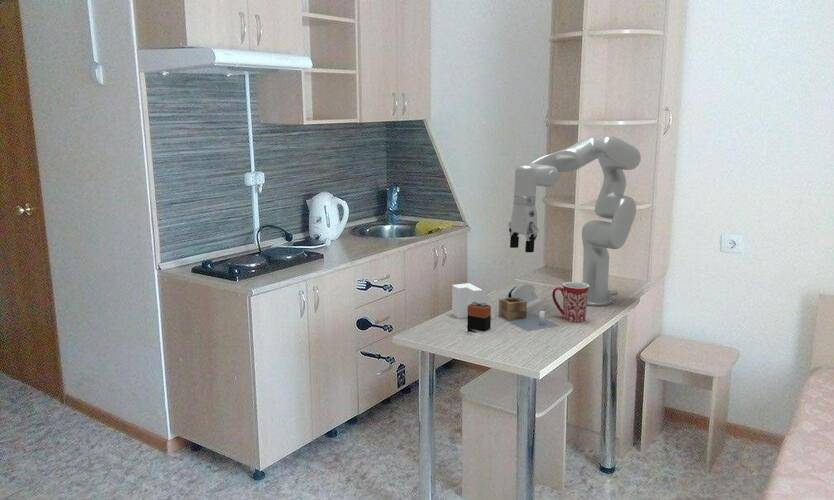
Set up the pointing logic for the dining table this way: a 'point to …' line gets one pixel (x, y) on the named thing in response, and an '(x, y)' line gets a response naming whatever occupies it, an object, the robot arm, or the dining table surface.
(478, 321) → the battery
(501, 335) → the dining table surface
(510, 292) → the grey electronic device
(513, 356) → the dining table surface
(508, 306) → the brown wooden hollow block
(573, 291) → the mug
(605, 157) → the robot arm
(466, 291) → the corner bracket
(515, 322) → the peg stand
